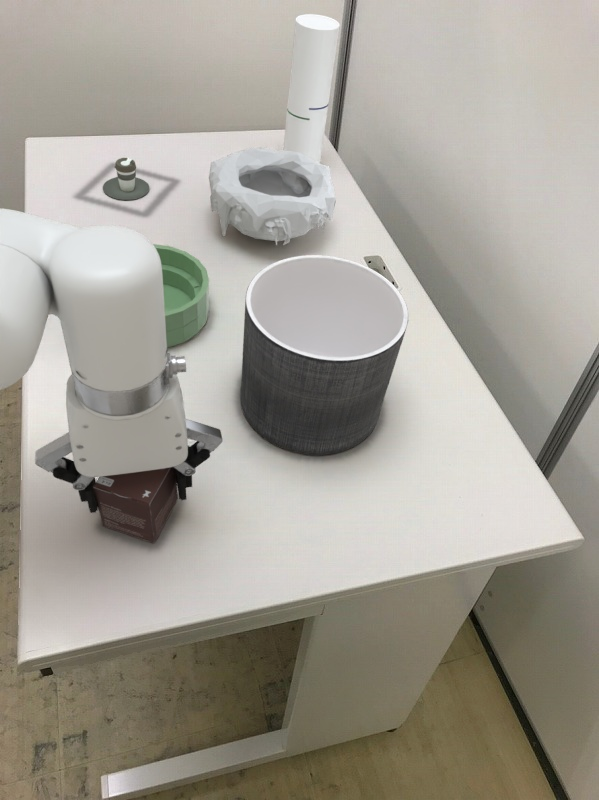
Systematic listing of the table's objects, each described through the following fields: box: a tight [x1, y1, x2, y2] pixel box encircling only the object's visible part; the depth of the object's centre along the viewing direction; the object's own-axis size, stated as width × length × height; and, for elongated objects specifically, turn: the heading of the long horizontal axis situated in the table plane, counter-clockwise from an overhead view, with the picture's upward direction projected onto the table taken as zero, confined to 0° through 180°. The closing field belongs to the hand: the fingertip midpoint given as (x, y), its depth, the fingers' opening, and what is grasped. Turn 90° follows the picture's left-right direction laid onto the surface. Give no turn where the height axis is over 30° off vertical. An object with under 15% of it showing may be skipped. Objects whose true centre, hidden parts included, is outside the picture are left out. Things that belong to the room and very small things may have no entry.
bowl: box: [208, 146, 337, 246], centre depth 103 cm, size 21×20×10 cm
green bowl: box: [152, 243, 210, 348], centre depth 87 cm, size 16×16×6 cm
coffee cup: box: [102, 157, 150, 201], centre depth 108 cm, size 12×12×5 cm
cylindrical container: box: [282, 13, 341, 164], centre depth 112 cm, size 7×7×25 cm
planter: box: [239, 254, 409, 456], centre depth 75 cm, size 18×18×16 cm
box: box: [93, 467, 179, 544], centre depth 65 cm, size 6×6×7 cm
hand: (138, 494), depth 65 cm, fingers closed on box, 8 cm apart
